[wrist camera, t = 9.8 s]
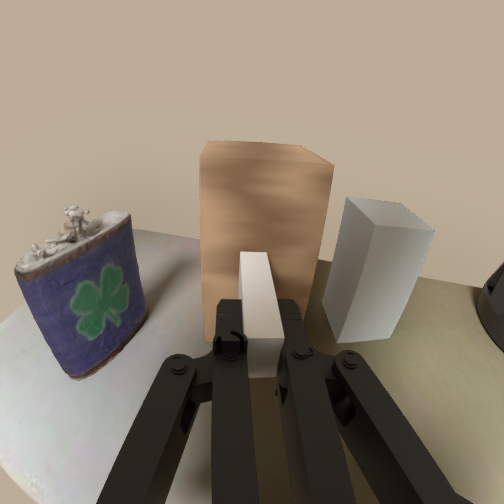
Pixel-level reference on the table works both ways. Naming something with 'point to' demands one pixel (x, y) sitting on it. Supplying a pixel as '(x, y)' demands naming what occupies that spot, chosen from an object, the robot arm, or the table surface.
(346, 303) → the number block
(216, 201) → the plain block
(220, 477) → the robot arm
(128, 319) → the flask
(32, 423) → the table surface
